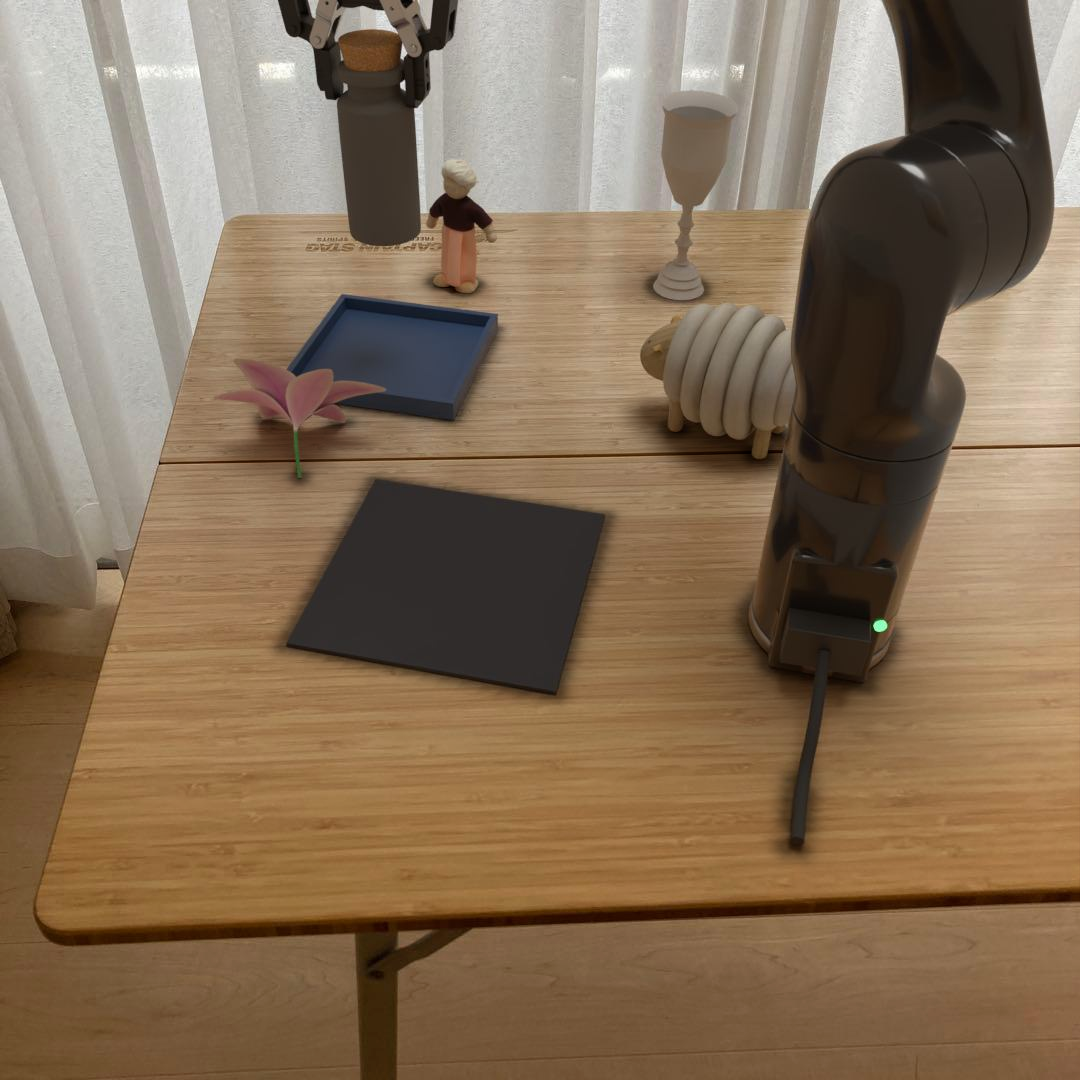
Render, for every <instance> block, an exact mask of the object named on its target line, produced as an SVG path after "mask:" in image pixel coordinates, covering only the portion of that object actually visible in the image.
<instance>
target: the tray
mask: <svg viewBox="0 0 1080 1080" xmlns="http://www.w3.org/2000/svg"><path fill="white" fill-rule="evenodd" d="M498 331H499V314H498V313H494V312H493V313H491V312H486V311H477V310H470V309H463V308H454V307H446V306H438V305H431V304H425V303H416V302H409V301H408V302H407V301H399V300H392V299H384V298H378V297H369V296H361V295H353V294H346V293H341V294H340V296H339V297H338V299H336V301H335V302H334V304H333V305H332V307H331V308H330V309H329V310H328V312H327V313H326V315H324V318H322V320H321V321H320V323H318V326H317V327H316V328H315V329H314V331H313V332H312V334H311V335H310V336H309V338H308V339H307V341H306V342H305V343H304V344H303V346H302V347H301V348H300V350H299V352H298V353H297V354H296V355H295V357H294V358H293V359H292V361H291V362H290V364H288V366H287V367H286V368H285V369H286V370H288V371H289V372H291V373H292V374H294V375H295V376H296V377H297V376H299V375H301V374H304V373H307V372H311V371H315V370H319V369H331V370H332V371H333V382H335V381H357V382H363V383H368V384H373V385H377V386H380V387H383V388H385V389H387V390H386V391H383V392H377V393H370V394H364V395H358V396H354V397H350V398H347V399H344V400H341V401H338V402H336V403H335V404H337V405H338V404H339V405H346V406H352V407H359V408H366V409H373V410H381V411H387V412H394V413H399V414H407V415H414V416H415V415H416V416H421V417H427V418H433V419H435V418H436V419H442V420H448V421H449V420H450V421H454V420H455V418H456V416H457V415H458V412H459V410H460V409H461V406H462V404H463V402H464V400H465V399H466V397H467V394H468V392H469V390H470V388H471V386H472V384H473V382H474V379H475V378H476V376H477V374H478V372H479V370H480V367H481V365H482V363H483V361H484V359H485V357H486V355H487V353H488V351H489V349H490V347H491V345H492V343H493V341H494V339H495V337H496V334H497V332H498Z"/></svg>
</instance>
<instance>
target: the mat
mask: <svg viewBox="0 0 1080 1080" xmlns="http://www.w3.org/2000/svg"><path fill="white" fill-rule="evenodd" d="M605 518H606V514H605V513H600V512H593V511H587V510H581V509H580V510H579V509H575V508H574V509H573V508H567V507H561V506H554V505H549V504H541V503H534V502H528V501H522V500H517V499H516V500H515V499H509V498H503V497H495V496H490V495H483V494H477V493H476V494H475V493H470V492H463V491H456V490H450V489H443V488H437V487H431V486H425V485H419V484H412V483H411V484H410V483H404V482H399V481H392V480H386V479H380V478H375V479H374V481H373V482H372V485H371V486H370V489H369V490H368V492H367V493H366V496H365V498H364V499H363V501H362V503H361V505H360V506H359V508H358V510H357V512H356V514H355V516H354V518H353V519H352V521H351V523H350V525H349V526H348V529H347V530H346V532H345V534H344V536H343V538H342V539H341V541H340V544H339V545H338V547H337V549H336V551H335V552H334V555H332V558H331V560H330V562H329V564H328V565H327V567H326V569H325V571H324V573H323V575H322V577H321V578H320V580H319V581H318V584H317V586H316V587H315V589H314V591H313V593H312V595H311V597H310V599H309V600H308V602H307V604H306V606H305V608H304V610H303V611H302V613H301V615H300V617H299V619H298V620H297V622H296V624H295V626H294V628H293V629H292V632H291V633H290V635H289V637H288V639H287V641H286V642H285V645H286V647H291V648H295V649H302V650H308V651H311V652H318V653H323V654H330V655H334V656H340V657H345V658H346V657H347V658H350V659H357V660H363V661H368V662H373V663H380V664H385V665H390V666H395V667H402V668H406V669H412V670H417V671H424V672H428V673H429V672H430V673H434V674H441V675H445V676H449V677H450V676H452V677H456V678H461V679H467V680H472V681H473V680H474V681H479V682H484V683H489V684H495V685H501V686H506V687H512V688H518V689H523V690H529V691H534V692H540V693H545V694H551V695H557V692H558V689H559V684H560V681H561V678H562V675H563V674H562V673H563V670H564V666H565V663H566V659H567V655H568V653H569V648H570V645H571V641H572V638H573V634H574V630H575V626H576V622H577V620H578V616H579V612H580V609H581V605H582V601H583V599H584V594H585V590H586V587H587V583H588V580H589V576H590V573H591V569H592V565H593V562H594V558H595V554H596V551H597V547H598V543H599V541H600V536H601V533H602V529H603V525H604V522H605Z"/></svg>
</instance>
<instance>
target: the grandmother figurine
mask: <svg viewBox="0 0 1080 1080" xmlns="http://www.w3.org/2000/svg"><path fill="white" fill-rule="evenodd" d="M440 172H441V173H440V174H441V176H442V178H443V190H444V193H442V194H441V195H440V196H439V197H437V198H436V199H435V200H434V202H433V203H432V205H431V206H430V208H429V211H428V214H427V215H428V216H427V219H426V221H425V226H426V227H427V228H428V229H434V228H436V226H437V223H438V221H439V219H440V218H441V217H442V226H441V255H440V258H441V259H440V271H441V273H438V274H436V275H435V276H434V278H433V280H432V281H433V282H432V283H433V284H434V286H437V287H440V288H446V287H447V288H448V287H450V286H452V287H455V288H454V289H455V291H456V292H458V293H462V294H472V293H473V292H475V291H476V289H477V288H478V286H479V280H478V279H477V263H478V252H477V240H476V239H477V238H476V226H477V227H478V228H479V229H481V230H482V232H483V233H484V234H485V239H486V241H487V243H490V244H493V243H495V242H496V241H497V239H498V235H497V233H496V232H495V227H494V225H493V221H494V220H493V219H492V217H491V216H490V215H489V214H488V213H487V212H486V210H485V209H484V208H483V207H482V206H480V204H478V202H475V201H474V200H473V198H471V197H470V196H468V194H469V193H470V192H471V190H472V189H473V188H474V187H475V186H476V185H477V184H478V183H479V179H478V177H477V174H476V172H475V171H474V169H473V168H472V166H471V165H469V163H468V162H467V161H466V160H464V159H456V158H450V159H447V160H446V161H445V162H444V163H443V164H442V166H441V171H440ZM475 225H476V226H475Z"/></svg>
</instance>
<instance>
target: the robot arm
mask: <svg viewBox="0 0 1080 1080" xmlns="http://www.w3.org/2000/svg"><path fill="white" fill-rule="evenodd" d="M881 3H882V5H883V7H884V8H883V9H884V10H885V13H886V15H887V18H888V20H889V23H890V27H891V31H892V34H893V37H894V42H895V46H896V52H897V57H898V63H899V73H900V78H901V87H902V98H903V114H904V115H903V116H904V117H903V118H904V134H903V135H900V136H898V137H894V138H890V139H887V140H883V141H880V142H877V143H874V144H870V145H868V146H864V147H862V148H859V149H856V150H854V151H853V152H850V153H848V154H846V155H844V157H842V158H841V159H840V160H839V161H838V162H836V163H835V164H834V165H833V166H832V167H831V169H830V170H829V171H828V173H827V174H826V175H825V177H824V178H823V180H822V182H821V184H820V185H819V188H818V189H817V192H816V195H815V197H814V199H813V202H812V205H811V209H810V211H809V215H808V218H807V222H806V227H805V228H806V229H805V233H804V238H803V242H802V243H803V244H802V249H801V256H800V265H799V273H798V280H797V287H796V288H797V289H796V294H795V295H796V296H795V303H794V309H793V310H794V311H793V318H792V326H791V329H792V332H791V359H792V366H793V370H794V376H795V381H796V388H795V394H794V399H793V404H792V409H791V414H790V419H789V423H788V424H787V429H786V435H785V439H784V444H783V447H782V453H781V458H780V463H779V468H778V472H777V477H776V482H775V487H774V491H773V496H772V497H773V498H772V502H771V507H770V512H769V518H768V522H767V527H766V531H765V532H766V533H765V537H764V542H763V546H762V551H761V556H760V560H759V561H760V562H759V566H758V570H757V578H756V582H755V587H754V591H753V593H752V596H751V599H750V604H749V609H748V625H749V628H750V631H751V633H752V635H753V637H754V638H755V640H756V642H757V643H758V644H759V646H760V647H761V648H762V649H763V650H764V651H765V652H766V653H767V655H768V661H767V663H768V665H769V666H770V667H772V668H776V669H782V670H787V671H793V672H799V673H806V674H809V675H814V677H813V686H812V693H811V701H810V706H809V714H808V719H807V725H806V730H805V734H804V735H805V736H804V741H803V745H802V750H801V754H800V760H799V765H798V770H797V774H796V775H797V776H796V783H795V789H794V798H793V805H792V806H793V807H792V818H791V819H792V820H791V828H790V838H789V841H790V843H791V844H792V845H795V846H802V845H804V844H805V838H806V827H807V826H806V825H807V811H808V801H809V800H808V799H809V791H810V784H811V778H812V771H813V767H814V762H815V757H816V752H817V748H818V743H819V738H820V733H821V727H822V720H823V715H824V708H825V707H824V706H825V700H826V692H827V685H828V678H835V679H840V680H846V681H850V682H851V681H852V682H857V683H864V682H866V681H867V677H868V674H869V671H870V669H871V668H873V667H874V666H876V665H877V664H878V663H879V662H881V660H882V659H883V658H884V657H885V655H886V654H887V652H888V650H889V647H890V644H891V641H892V639H893V634H894V629H895V624H896V620H897V617H898V615H899V611H900V608H901V606H902V601H903V598H904V595H905V592H906V589H907V586H908V583H909V579H910V577H911V573H912V570H913V568H914V564H915V561H916V559H917V556H918V553H919V550H920V546H921V542H922V539H923V536H924V533H925V531H926V527H927V525H928V522H929V518H930V516H931V513H932V509H933V506H934V503H935V499H936V498H937V497H936V496H937V493H938V491H939V487H940V485H941V482H942V478H943V477H944V474H945V470H946V467H947V463H948V461H949V457H950V454H951V451H952V449H953V445H954V442H955V440H956V436H957V433H958V430H959V427H960V424H961V421H962V418H963V414H964V410H965V408H966V402H967V401H966V400H967V391H966V386H965V382H964V380H963V378H962V376H961V375H960V373H959V372H958V370H957V369H956V368H955V367H954V366H953V365H952V364H951V363H950V362H949V361H948V360H946V359H945V358H944V357H942V356H940V355H939V354H937V353H938V348H939V343H940V339H941V336H942V331H943V329H944V326H945V325H944V324H945V322H946V319H947V317H948V316H951V315H953V314H956V313H958V312H960V311H963V310H966V309H968V308H970V307H973V306H975V305H978V304H980V303H983V302H986V301H988V300H990V299H992V298H995V297H997V296H999V295H1002V294H1004V293H1006V292H1007V291H1009V290H1012V289H1013V288H1015V287H1016V286H1017V285H1018V284H1020V283H1021V282H1023V281H1024V280H1025V279H1026V278H1028V276H1029V275H1030V274H1031V273H1032V272H1033V271H1034V269H1035V268H1036V267H1037V266H1038V264H1039V262H1040V261H1041V260H1042V257H1043V254H1044V253H1045V251H1046V249H1047V246H1048V244H1049V242H1050V237H1051V235H1052V229H1053V224H1054V219H1055V218H1054V215H1055V179H1054V169H1053V159H1052V153H1051V152H1052V151H1051V145H1050V137H1049V132H1048V126H1047V125H1048V124H1047V119H1046V114H1045V113H1046V112H1045V107H1044V100H1043V94H1042V88H1041V82H1040V75H1039V70H1038V63H1037V57H1036V51H1035V44H1034V36H1033V30H1032V29H1033V28H1032V23H1031V15H1030V6H1029V0H881ZM277 4H278V8H279V11H280V14H281V18H282V22H283V25H284V29H285V32H286V34H287V35H288V36H289V37H291V38H300V39H302V40H304V41H306V42H307V43H308V44H310V46H311V48H312V51H313V60H314V68H315V78H316V84H317V87H318V89H319V91H320V92H324V97H325V99H326V100H327V101H328V100H330V101H337V100H338V98H339V97H340V96H341V95H342V94H343V93H344V92H345V83H343V82H342V81H341V80H340V79H339V75H338V64H339V63H340V62H341V61H342V53H341V50H340V47H339V43H338V41H337V40H336V37H337V34H338V31H339V28H340V25H341V22H342V19H343V17H344V14H345V12H346V10H347V9H356V8H359V7H365V8H368V9H369V10H373V11H382V12H383V11H384V13H385V16H386V17H387V19H388V21H389V24H390V26H391V27H392V28H393V29H395V30H396V33H397V34H399V37H400V39H401V41H402V46H403V47H404V49H405V51H406V55H404V57H403V60H404V74H405V80H404V88H405V89H404V90H405V91H406V104H407V107H408V108H414V109H418V108H419V107H420V106H421V105H422V103H424V101H425V99H426V98H428V96H429V95H430V93H431V92H430V91H431V89H432V86H431V63H430V52H432V51H442V50H443V49H444V48H445V47H446V45H447V44H448V43H449V42H450V41H451V40H453V38H454V37H455V30H456V23H457V22H456V21H457V15H458V4H459V0H432V5H431V16H430V24H429V25H430V26H429V28H428V27H427V25H426V23H425V20H424V18H423V15H422V14H421V6H420V2H419V1H418V0H318V2H317V5H316V8H315V17H314V16H313V14H312V10H311V7H310V3H309V0H277Z"/></svg>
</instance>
